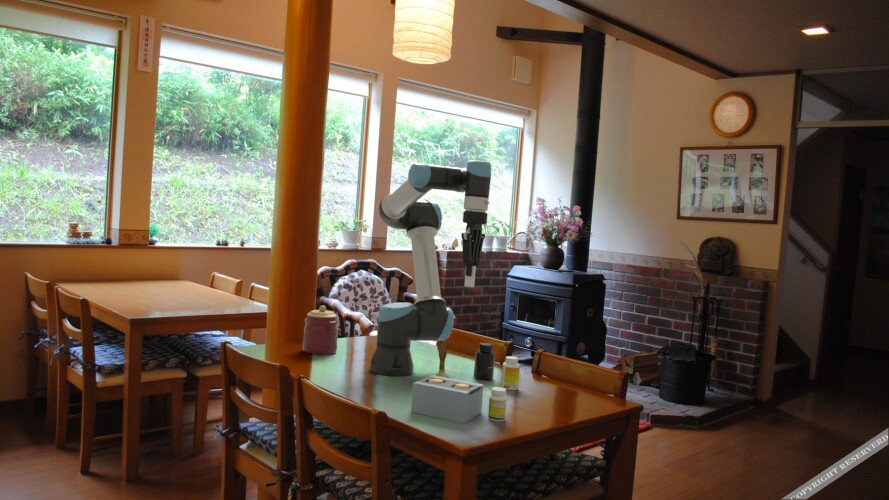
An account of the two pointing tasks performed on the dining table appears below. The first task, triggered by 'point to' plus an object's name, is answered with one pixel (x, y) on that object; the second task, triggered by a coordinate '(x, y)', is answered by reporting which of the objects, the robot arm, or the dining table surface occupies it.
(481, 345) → the supplement bottle
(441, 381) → the peg
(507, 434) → the dining table surface
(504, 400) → the supplement bottle
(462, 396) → the socket block
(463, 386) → the peg
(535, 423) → the dining table surface
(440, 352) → the hand bell
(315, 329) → the canister
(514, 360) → the supplement bottle
